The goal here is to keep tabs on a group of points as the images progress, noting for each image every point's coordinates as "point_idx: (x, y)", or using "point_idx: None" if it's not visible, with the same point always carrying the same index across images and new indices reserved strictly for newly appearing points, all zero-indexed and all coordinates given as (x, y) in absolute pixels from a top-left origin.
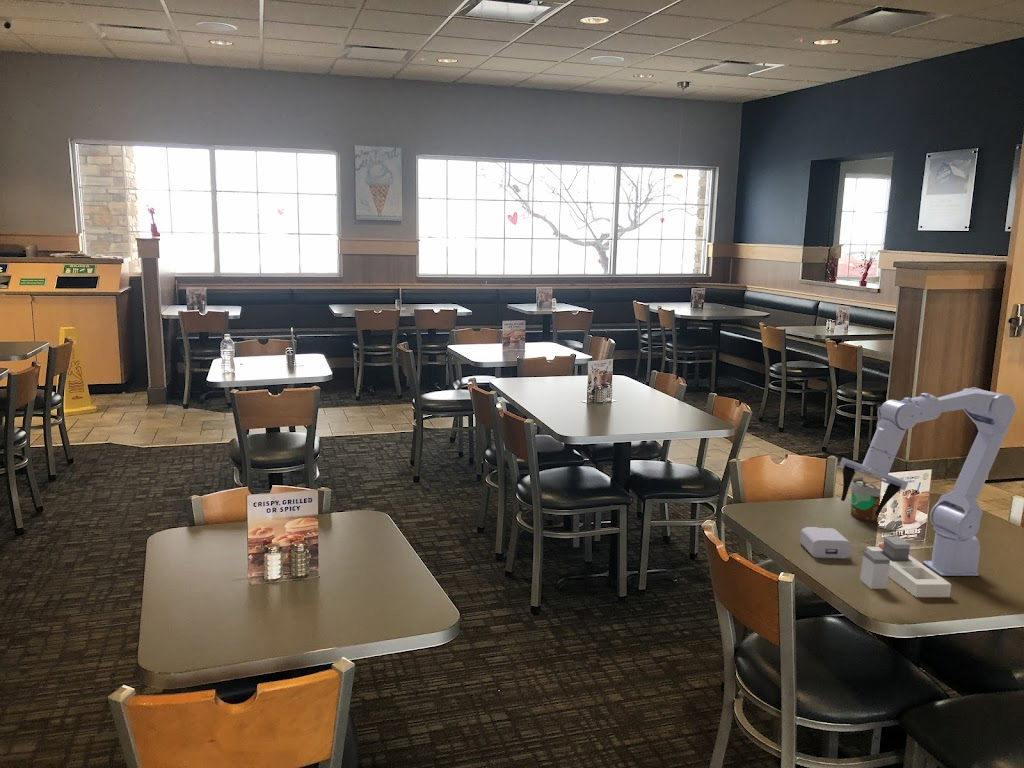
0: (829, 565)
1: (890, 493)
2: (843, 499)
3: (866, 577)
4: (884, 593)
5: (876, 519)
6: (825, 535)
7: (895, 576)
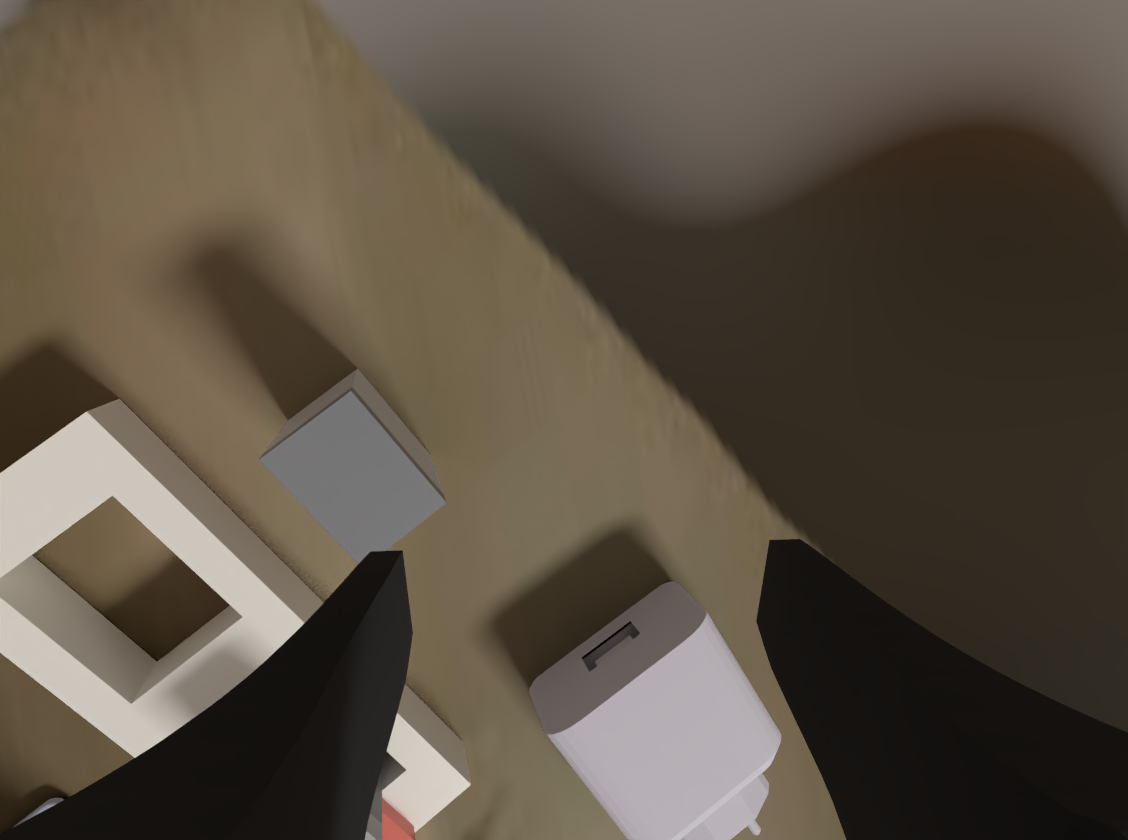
0: (588, 534)
1: (158, 783)
2: (786, 547)
3: (394, 418)
4: (282, 347)
5: None
6: (675, 721)
7: (265, 559)
